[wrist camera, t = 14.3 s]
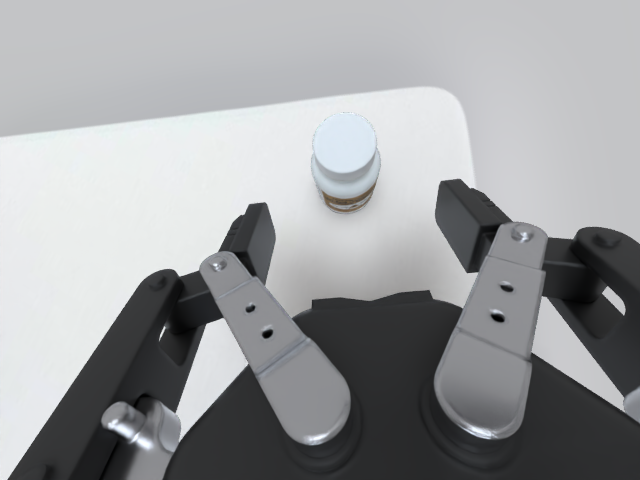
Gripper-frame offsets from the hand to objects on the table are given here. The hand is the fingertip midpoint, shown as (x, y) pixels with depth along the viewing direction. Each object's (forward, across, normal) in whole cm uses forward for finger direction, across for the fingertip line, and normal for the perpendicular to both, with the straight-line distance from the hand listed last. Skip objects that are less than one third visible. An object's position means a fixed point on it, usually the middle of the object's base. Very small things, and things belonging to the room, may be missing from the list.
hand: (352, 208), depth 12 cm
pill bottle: (+9, 0, -4) cm, 10 cm away
